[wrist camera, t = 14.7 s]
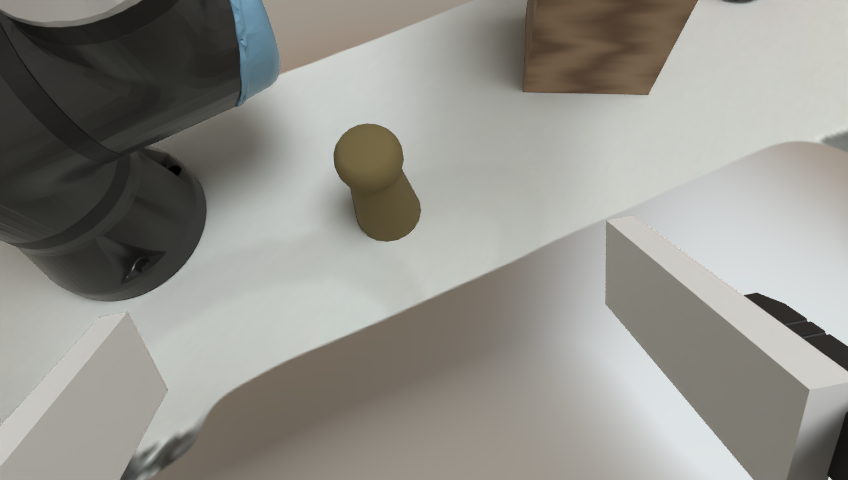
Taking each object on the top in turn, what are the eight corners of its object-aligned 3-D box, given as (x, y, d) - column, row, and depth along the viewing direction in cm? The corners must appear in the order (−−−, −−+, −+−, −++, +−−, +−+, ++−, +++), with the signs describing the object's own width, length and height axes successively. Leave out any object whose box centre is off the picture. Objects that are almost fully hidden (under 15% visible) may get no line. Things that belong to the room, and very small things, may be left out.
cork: (429, 191, 44) (417, 120, 34) (408, 249, 42) (388, 191, 32) (370, 176, 46) (341, 102, 36) (346, 231, 44) (309, 170, 34)
